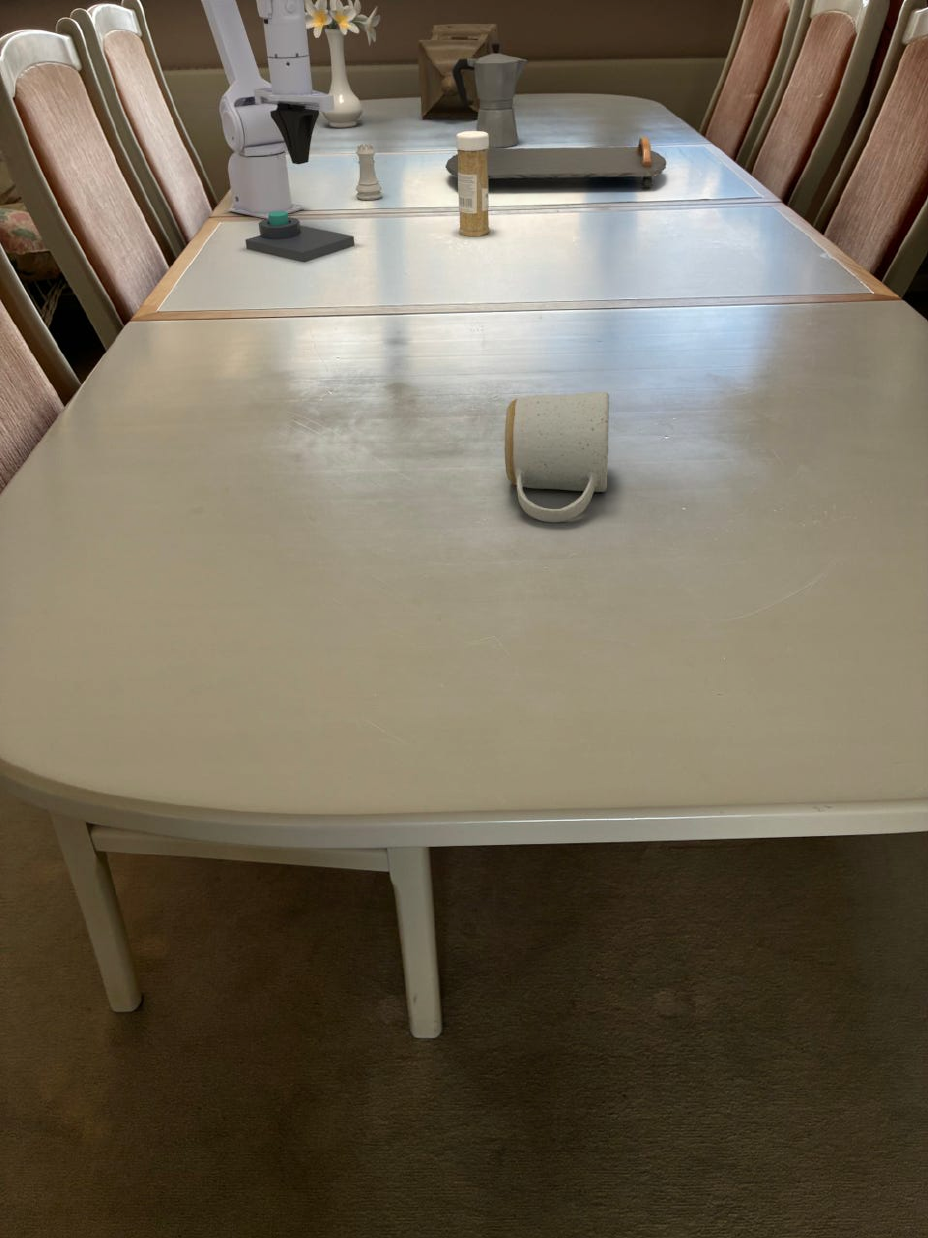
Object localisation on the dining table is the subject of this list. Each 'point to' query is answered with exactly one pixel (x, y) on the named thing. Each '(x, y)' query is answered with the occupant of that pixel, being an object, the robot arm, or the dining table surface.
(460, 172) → the sprinkles bottle
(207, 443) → the dining table surface
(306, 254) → the dark grey flat block
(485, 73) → the coffeepot
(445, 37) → the ornamental box
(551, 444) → the ceramic mug
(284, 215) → the button
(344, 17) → the flower vase
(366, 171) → the rook chess piece
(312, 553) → the dining table surface
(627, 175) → the serving tray
